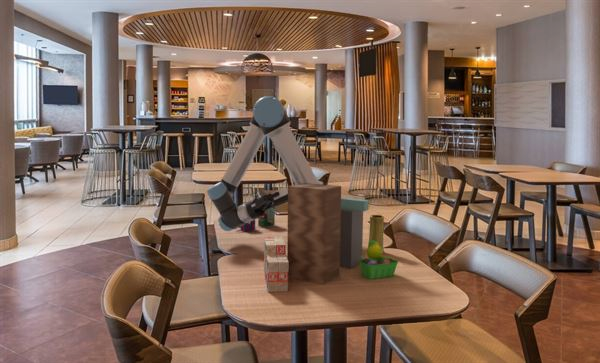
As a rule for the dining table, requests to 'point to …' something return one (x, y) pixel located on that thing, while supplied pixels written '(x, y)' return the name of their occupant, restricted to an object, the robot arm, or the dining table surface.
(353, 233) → the step
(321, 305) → the dining table surface
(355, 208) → the bar
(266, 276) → the stack of blocks
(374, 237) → the vase
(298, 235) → the stand
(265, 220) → the canned tomato
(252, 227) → the mug
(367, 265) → the fruit basket
